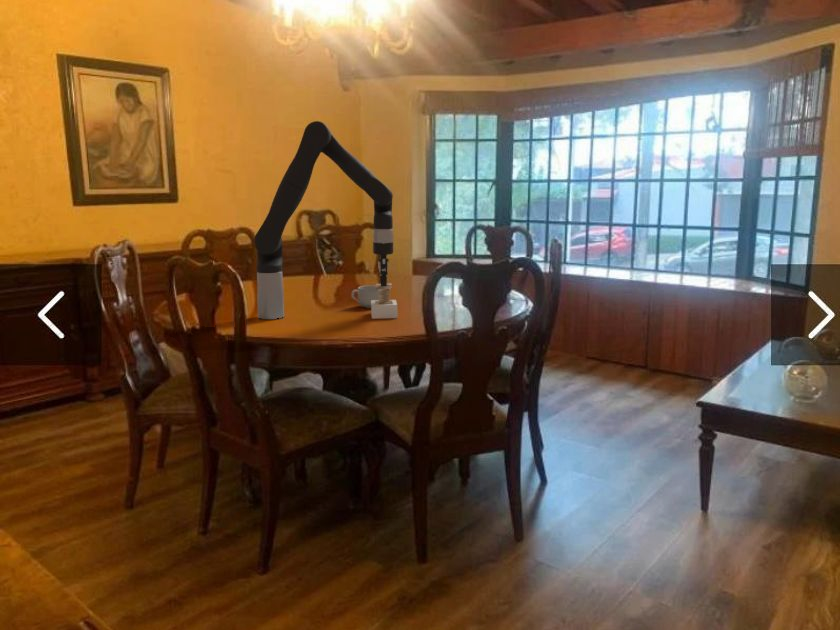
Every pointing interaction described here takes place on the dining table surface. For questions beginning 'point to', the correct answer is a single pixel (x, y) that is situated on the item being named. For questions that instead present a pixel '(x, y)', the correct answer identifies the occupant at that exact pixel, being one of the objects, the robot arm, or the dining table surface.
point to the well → (383, 309)
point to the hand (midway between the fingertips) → (383, 284)
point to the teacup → (366, 295)
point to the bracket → (383, 293)
